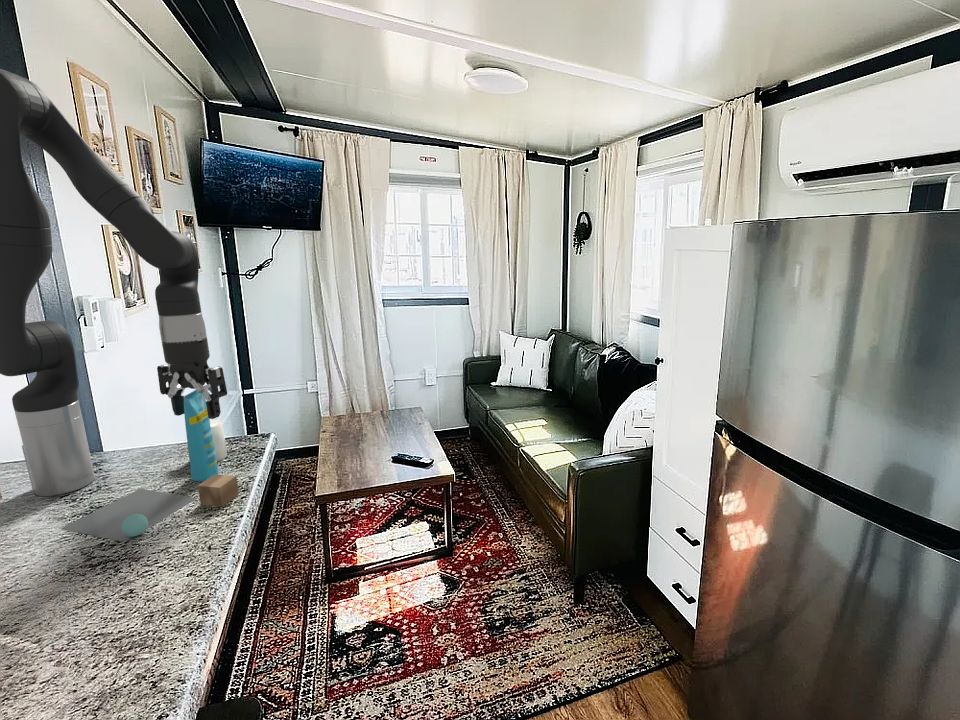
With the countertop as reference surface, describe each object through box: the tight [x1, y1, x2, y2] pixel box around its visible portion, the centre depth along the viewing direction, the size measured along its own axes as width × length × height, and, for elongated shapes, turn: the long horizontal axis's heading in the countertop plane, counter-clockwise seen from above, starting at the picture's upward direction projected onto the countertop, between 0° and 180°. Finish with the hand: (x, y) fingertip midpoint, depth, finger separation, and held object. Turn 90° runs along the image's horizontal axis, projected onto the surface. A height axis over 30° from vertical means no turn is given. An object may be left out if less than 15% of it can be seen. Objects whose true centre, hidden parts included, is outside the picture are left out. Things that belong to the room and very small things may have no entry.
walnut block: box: [197, 474, 240, 507], centre depth 87 cm, size 4×4×4 cm
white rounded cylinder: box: [209, 419, 228, 463], centre depth 105 cm, size 7×7×8 cm
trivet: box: [61, 488, 198, 543], centre depth 83 cm, size 14×14×1 cm
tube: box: [183, 389, 220, 482], centre depth 94 cm, size 7×5×19 cm, turn 13°
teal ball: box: [122, 514, 148, 538], centre depth 76 cm, size 4×4×4 cm
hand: (197, 416), depth 93 cm, fingers open, 8 cm apart
